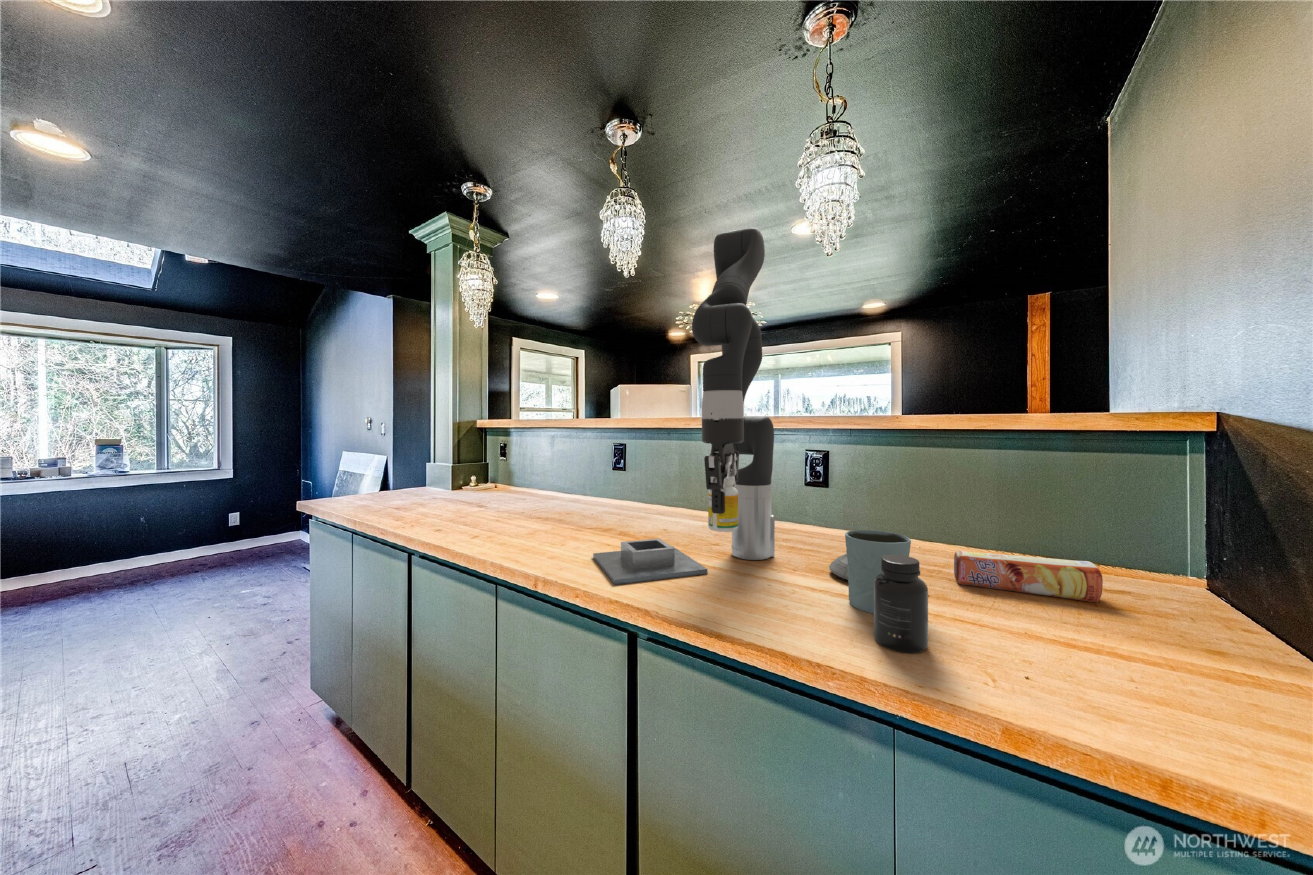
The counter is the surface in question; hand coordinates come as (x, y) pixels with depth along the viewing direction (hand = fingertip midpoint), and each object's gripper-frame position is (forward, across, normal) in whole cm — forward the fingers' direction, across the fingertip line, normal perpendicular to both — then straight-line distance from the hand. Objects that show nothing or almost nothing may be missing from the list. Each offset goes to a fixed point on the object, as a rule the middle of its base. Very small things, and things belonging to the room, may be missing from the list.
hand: (723, 509), depth 83 cm
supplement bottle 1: (+4, 0, 0) cm, 4 cm away
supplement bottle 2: (+16, +8, +28) cm, 33 cm away
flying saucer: (+17, -22, +24) cm, 37 cm away
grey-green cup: (+16, -6, +25) cm, 31 cm away
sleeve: (+16, -10, -21) cm, 28 cm away
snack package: (+17, -26, +50) cm, 59 cm away
